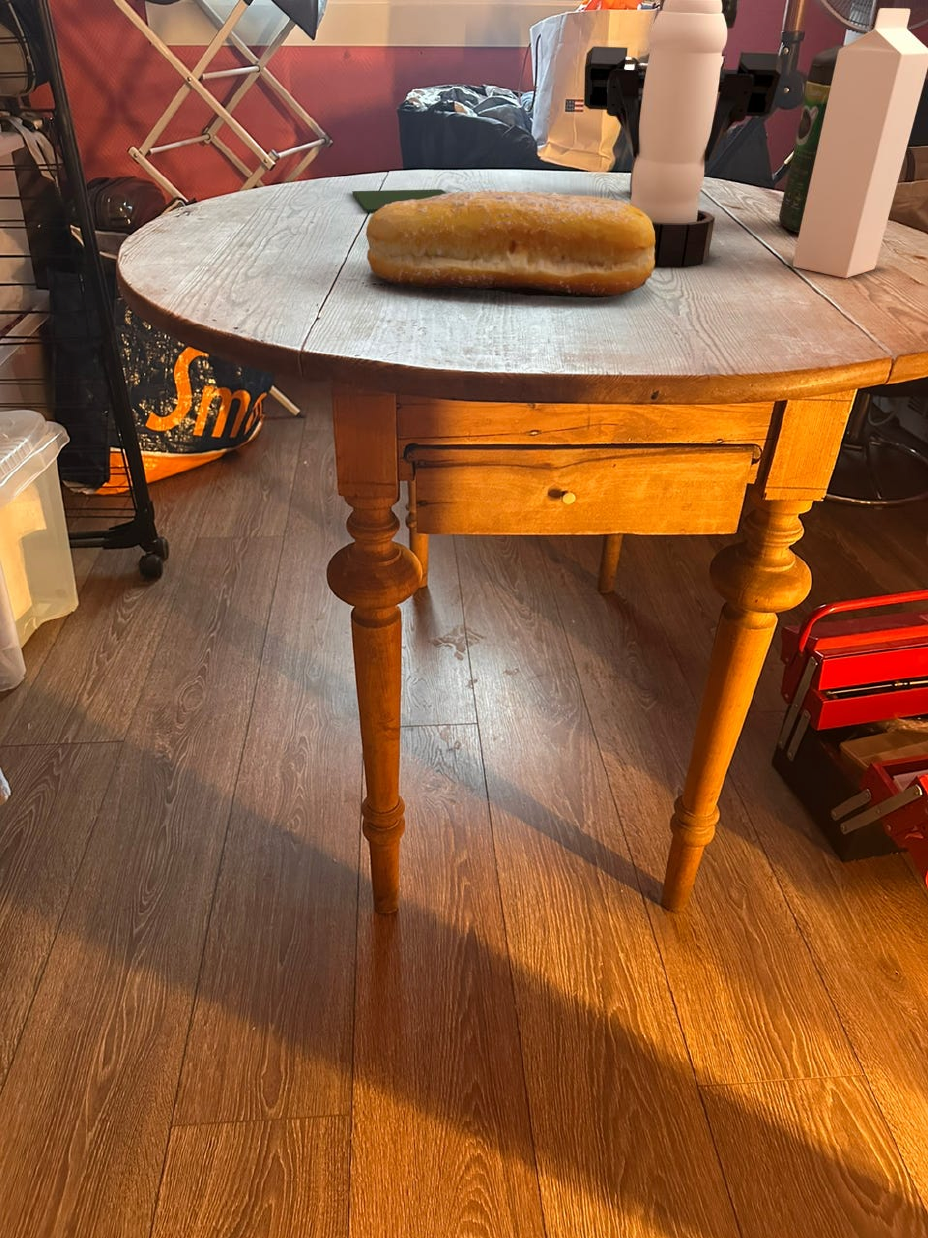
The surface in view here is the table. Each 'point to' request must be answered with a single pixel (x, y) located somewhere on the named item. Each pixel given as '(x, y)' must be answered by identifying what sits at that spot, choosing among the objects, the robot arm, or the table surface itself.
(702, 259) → the holder
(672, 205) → the water bottle
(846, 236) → the milk
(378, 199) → the mat
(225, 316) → the table surface
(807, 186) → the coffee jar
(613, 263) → the bread
